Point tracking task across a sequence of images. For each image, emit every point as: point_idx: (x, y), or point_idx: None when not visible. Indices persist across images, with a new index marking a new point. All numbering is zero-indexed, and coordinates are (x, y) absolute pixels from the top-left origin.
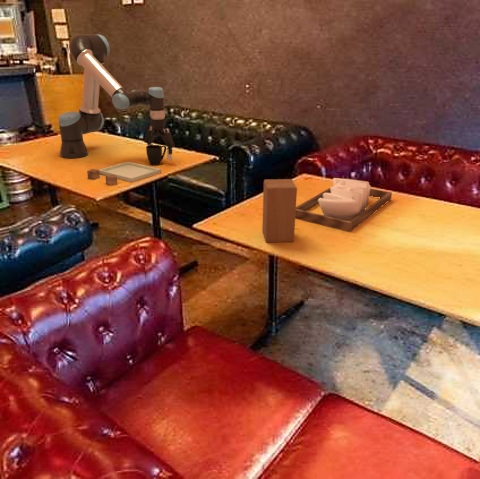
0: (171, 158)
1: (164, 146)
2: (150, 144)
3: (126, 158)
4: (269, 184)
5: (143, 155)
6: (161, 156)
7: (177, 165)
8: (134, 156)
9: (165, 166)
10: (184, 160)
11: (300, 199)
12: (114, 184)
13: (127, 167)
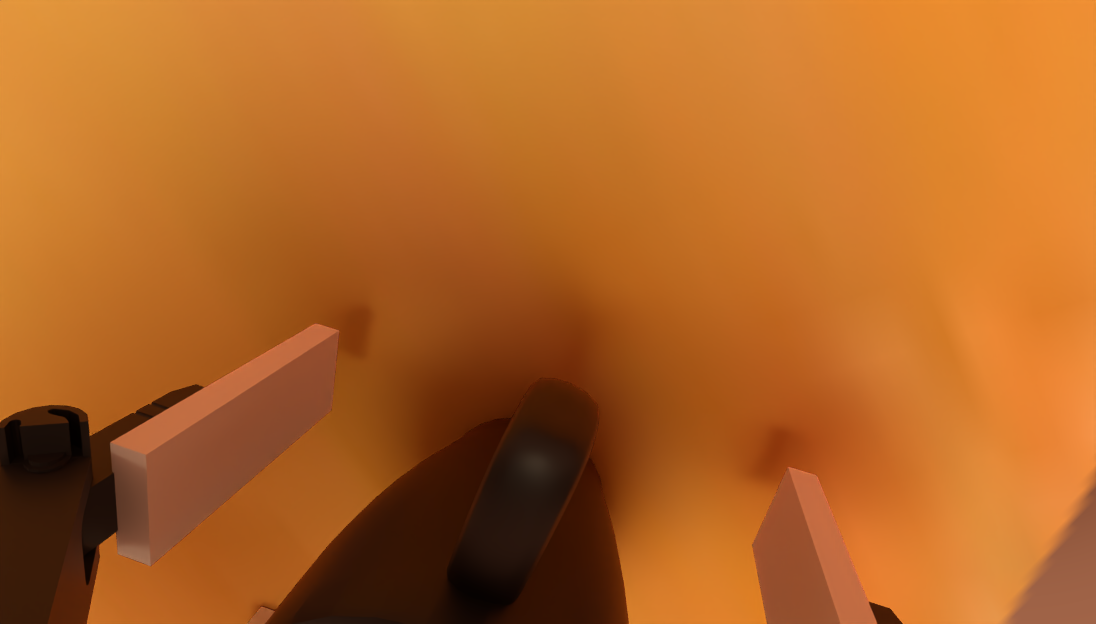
0: (818, 498)
1: (560, 509)
2: (136, 513)
3: (15, 348)
4: None
5: (49, 90)
6: (621, 574)
7: (926, 462)
8: (4, 210)
9: (740, 556)
10: (952, 80)
11: None
12: None
13: None
